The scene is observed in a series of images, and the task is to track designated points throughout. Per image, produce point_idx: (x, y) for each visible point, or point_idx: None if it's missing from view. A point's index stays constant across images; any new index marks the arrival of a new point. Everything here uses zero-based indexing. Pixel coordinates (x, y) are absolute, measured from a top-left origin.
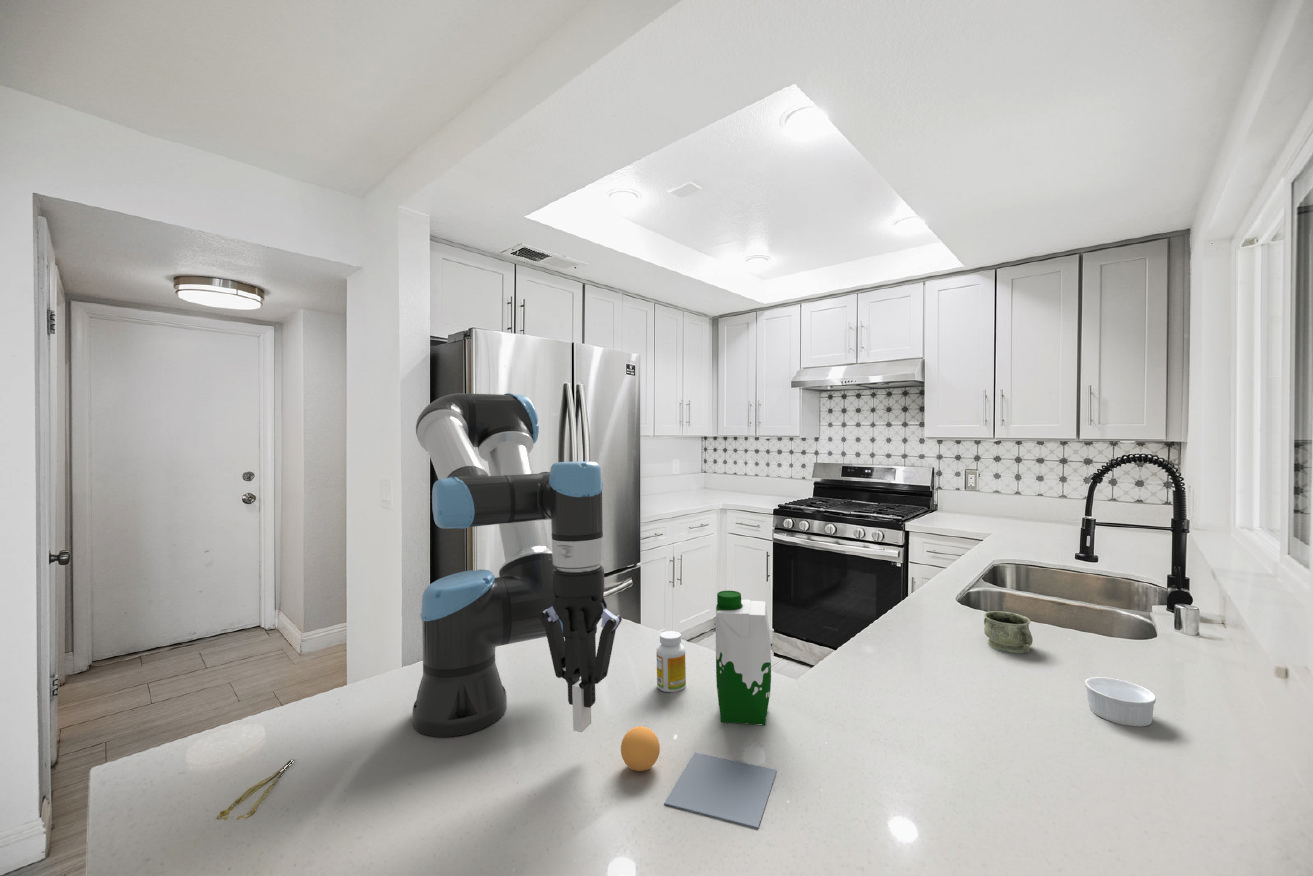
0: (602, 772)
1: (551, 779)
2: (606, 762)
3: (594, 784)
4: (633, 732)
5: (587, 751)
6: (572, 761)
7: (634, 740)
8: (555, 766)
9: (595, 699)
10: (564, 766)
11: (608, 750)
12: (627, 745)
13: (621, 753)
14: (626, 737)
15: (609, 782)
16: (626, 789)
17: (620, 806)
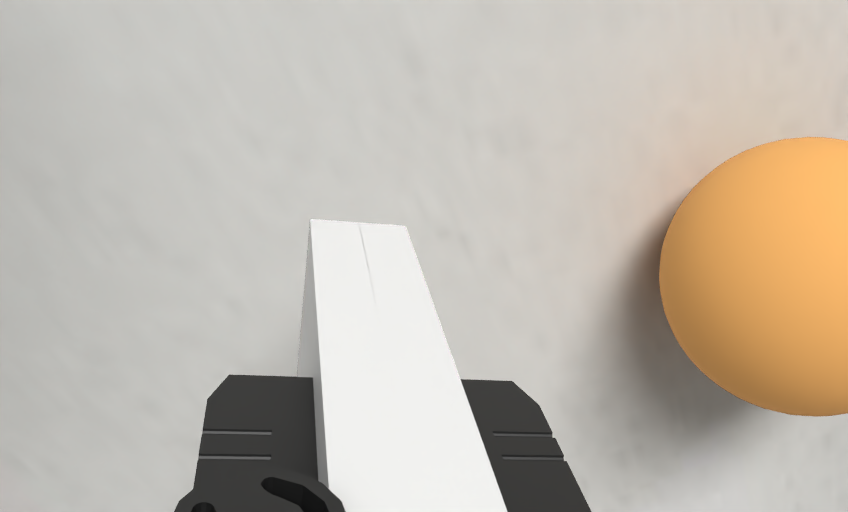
0: (520, 320)
1: None
2: (514, 228)
3: None
4: (843, 382)
5: (341, 149)
6: (292, 279)
7: (835, 410)
8: (211, 353)
9: (542, 412)
10: (267, 337)
11: (486, 98)
12: (765, 405)
13: (680, 345)
14: (770, 384)
15: (582, 381)
16: (680, 400)
17: (673, 500)
